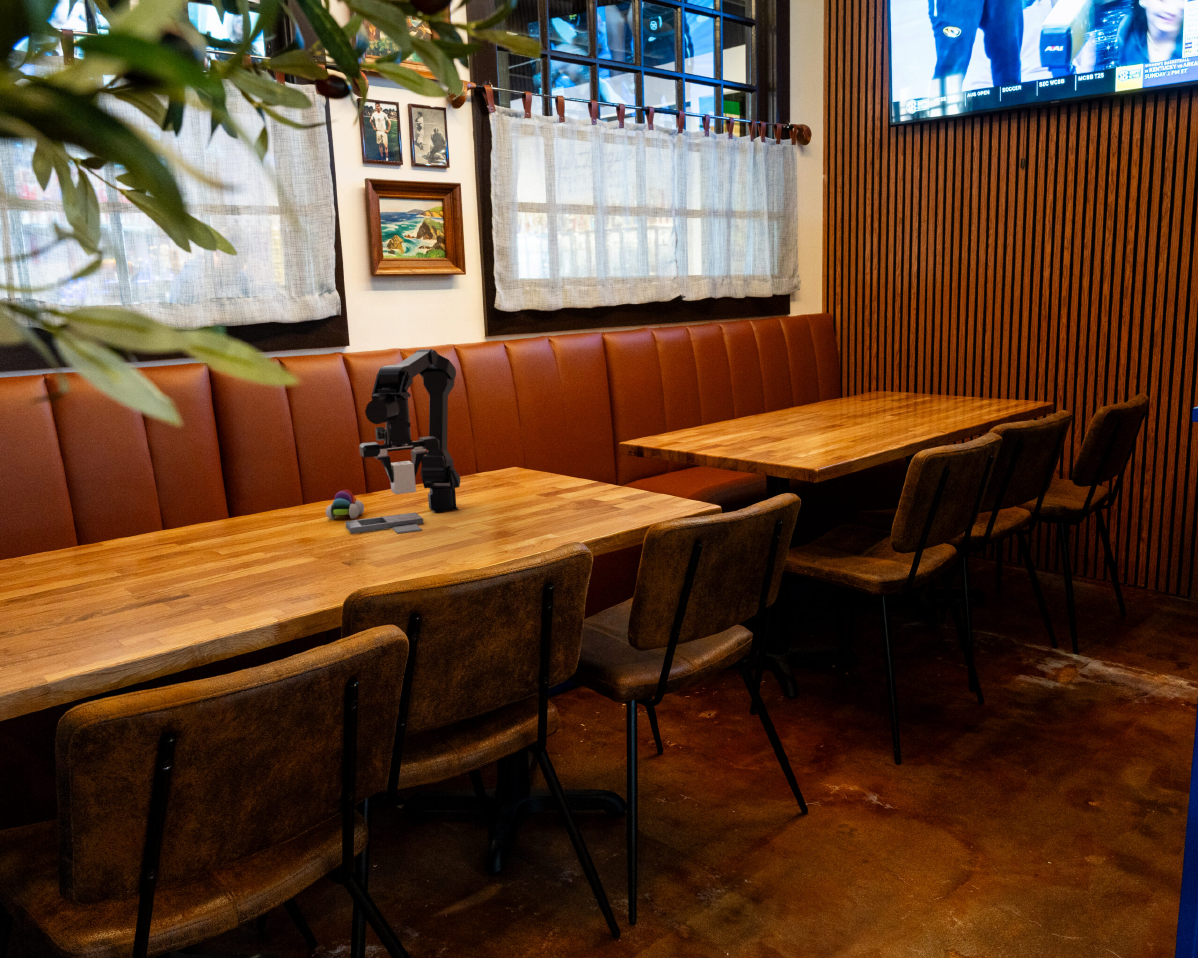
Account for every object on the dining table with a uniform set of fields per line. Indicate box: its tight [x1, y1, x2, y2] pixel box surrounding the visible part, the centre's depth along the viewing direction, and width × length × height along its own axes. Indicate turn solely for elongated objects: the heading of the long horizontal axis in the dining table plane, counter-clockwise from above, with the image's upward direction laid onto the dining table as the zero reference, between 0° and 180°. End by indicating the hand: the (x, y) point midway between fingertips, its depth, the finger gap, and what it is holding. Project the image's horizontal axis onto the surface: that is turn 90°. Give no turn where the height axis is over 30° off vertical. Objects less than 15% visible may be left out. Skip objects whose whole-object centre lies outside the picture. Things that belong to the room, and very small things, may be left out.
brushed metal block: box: [390, 460, 417, 495], centre depth 241 cm, size 5×5×7 cm
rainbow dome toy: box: [325, 489, 365, 520], centre depth 260 cm, size 8×10×7 cm
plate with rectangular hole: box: [344, 512, 424, 535], centre depth 249 cm, size 18×8×2 cm, turn 114°
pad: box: [391, 524, 423, 534], centre depth 244 cm, size 6×6×1 cm
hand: (402, 481), depth 242 cm, fingers closed on brushed metal block, 5 cm apart
